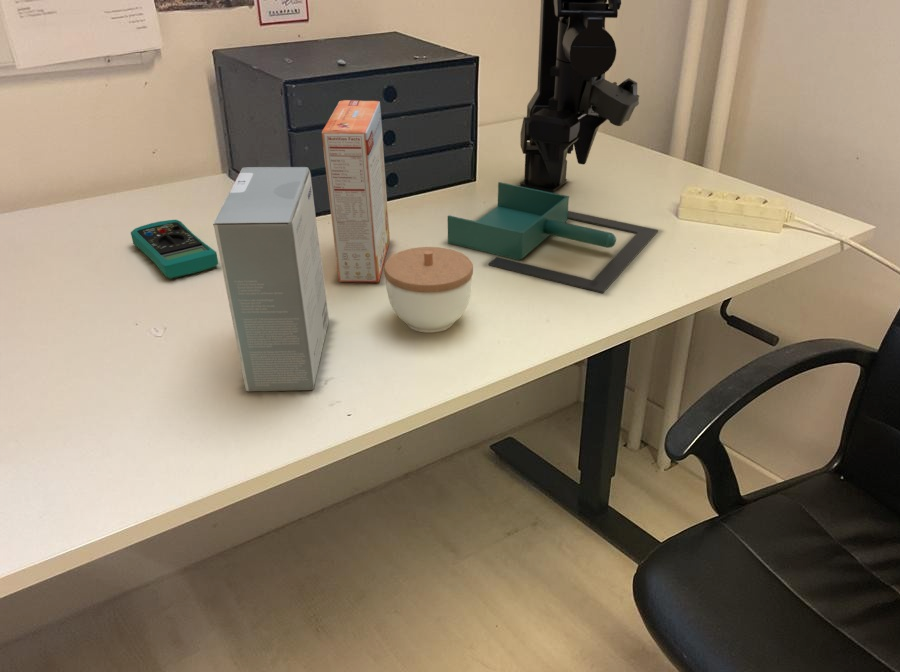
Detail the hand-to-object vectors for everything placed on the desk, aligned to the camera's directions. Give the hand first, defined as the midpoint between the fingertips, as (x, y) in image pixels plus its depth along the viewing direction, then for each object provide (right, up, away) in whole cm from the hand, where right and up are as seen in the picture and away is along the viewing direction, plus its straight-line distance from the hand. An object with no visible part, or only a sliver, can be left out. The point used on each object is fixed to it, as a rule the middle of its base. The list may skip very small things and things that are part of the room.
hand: (569, 173), depth 116 cm
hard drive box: (-34, -27, -22) cm, 49 cm away
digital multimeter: (-56, -12, -1) cm, 58 cm away
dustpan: (-4, -8, +7) cm, 12 cm away
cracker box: (-29, -13, -1) cm, 32 cm away
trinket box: (-19, -23, -14) cm, 33 cm away
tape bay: (+2, -10, +5) cm, 11 cm away
